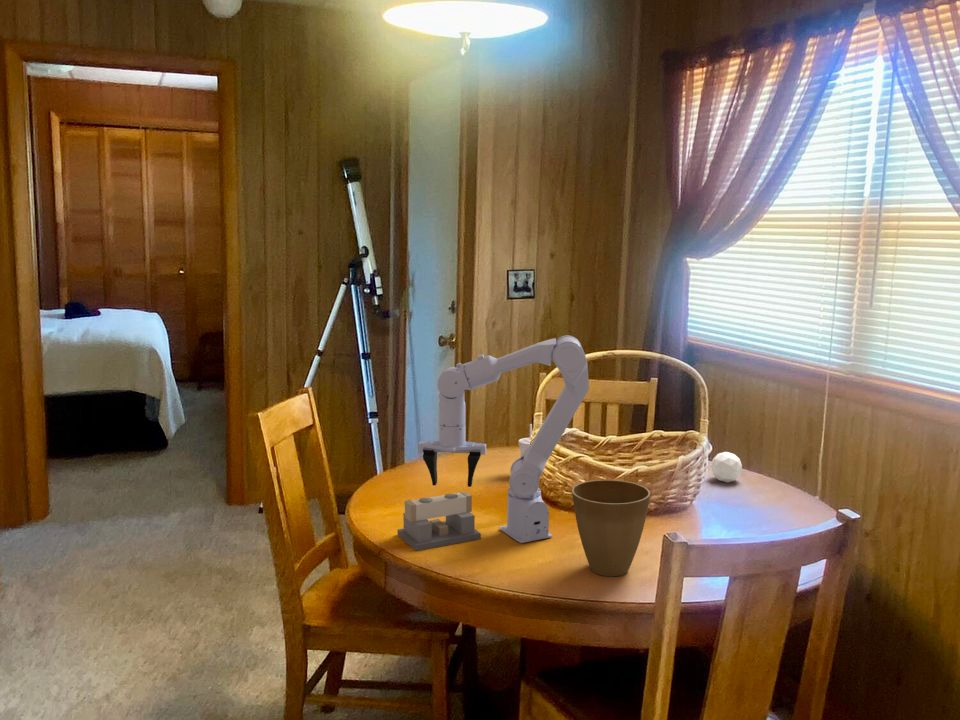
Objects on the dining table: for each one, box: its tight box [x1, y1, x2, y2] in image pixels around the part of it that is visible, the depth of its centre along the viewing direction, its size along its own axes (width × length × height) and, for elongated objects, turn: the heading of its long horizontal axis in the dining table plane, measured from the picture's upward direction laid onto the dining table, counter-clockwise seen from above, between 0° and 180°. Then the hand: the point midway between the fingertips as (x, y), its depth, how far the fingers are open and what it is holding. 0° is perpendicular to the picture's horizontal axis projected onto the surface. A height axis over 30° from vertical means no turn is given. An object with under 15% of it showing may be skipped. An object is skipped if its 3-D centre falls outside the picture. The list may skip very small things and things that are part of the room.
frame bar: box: [404, 491, 473, 522], centre depth 182 cm, size 3×14×4 cm, turn 118°
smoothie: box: [518, 423, 533, 457], centre depth 224 cm, size 6×6×14 cm
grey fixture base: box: [396, 512, 482, 551], centre depth 182 cm, size 15×10×5 cm, turn 118°
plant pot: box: [571, 479, 651, 577], centre depth 166 cm, size 15×15×16 cm
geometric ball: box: [710, 451, 743, 483], centre depth 222 cm, size 8×8×8 cm
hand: (452, 484), depth 185 cm, fingers open, 7 cm apart
